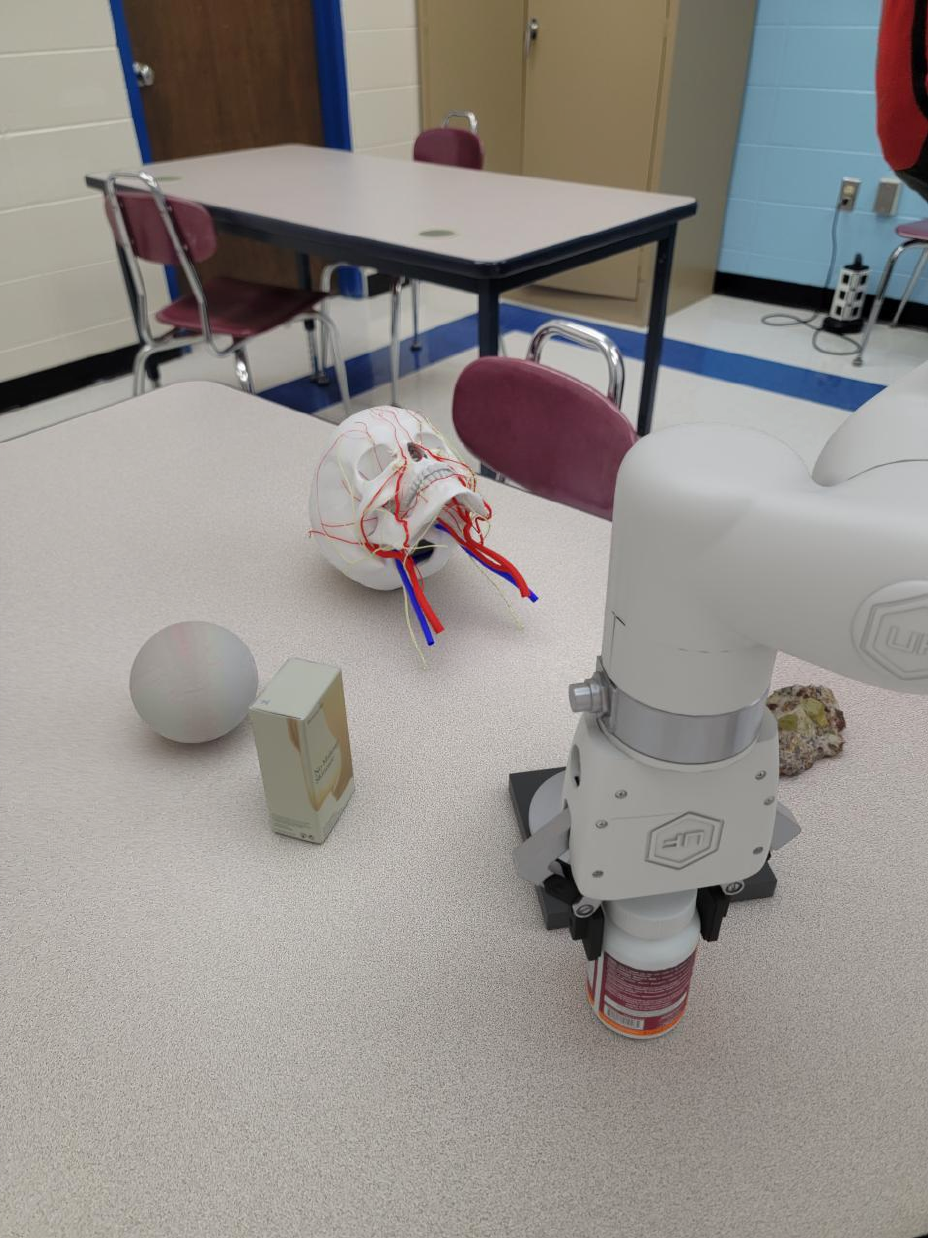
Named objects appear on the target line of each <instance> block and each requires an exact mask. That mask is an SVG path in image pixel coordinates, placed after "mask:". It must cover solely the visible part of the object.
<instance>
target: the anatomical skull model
mask: <svg viewBox="0 0 928 1238" xmlns="http://www.w3.org/2000/svg"><path fill="white" fill-rule="evenodd" d="M419 413H421V414H423V416H424V417H422V415H421V414H419ZM454 449H455V450H454ZM477 474H478V473H477V472H474V470H473V469H472V468H471V467H469V466H468V465H467V464H466V463H465V460H464V459H463V457H462V456H461V454H460V452H459V451H458V450H457V449H456V447H455V446H454V445H453V444H451V445H450V444H449V442H448V441H447V439H446V438H445V437H444V435H443V433H442V432H440V431H439V430H438V429H437V428H435V427H434V426H433V424H432V423H431V422H430V420H429V419H428V417H427V415H426V413H425V412H423V411H422V410H419V411H417V412H415V411H413V410H410V409H408V408H406V409H405V408H399V407H395V406H392V405H380V406H379V405H378V406H374V407H371V408H367V409H363V410H360V411H357V412H355V413H353V414H351V415H350V416H348V417H346V419H344V420H343V421H341V422H340V423H339V424H338V426H337V427H336V428H335V429H334V430H333V432H332V433H331V435H330V436H329V438H328V439H327V441H326V443H325V444H324V446H323V448H322V450H321V453H320V455H319V457H318V460H317V463H316V466H315V468H314V471H313V476H312V480H311V483H310V484H311V485H310V490H309V491H310V492H309V498H308V517H309V522H310V525H311V529H312V530H309V531H308V534H309V537H308V539H311V536H312V533H313V537H314V540H315V542H316V544H317V546H318V548H319V550H320V551H321V553H322V555H323V557H325V559H326V560H327V561H328V562H329V563H330V564H331V565H332V566H333V567H334V568H336V570H339V571H340V572H341V573H342V574H343V575H344V577H345V578H349V579H351V580H353V581H355V582H357V583H359V584H361V585H362V586H364V587H366V588H369V589H372V590H373V589H374V590H379V591H393V590H395V589H399V588H402V589H403V596H404V597H403V598H404V611H405V619H406V624H407V627H408V630H409V633H410V637H411V640H412V643H413V645H414V647H415V649H416V651H417V653H418V654H419V656H420V658H421V661H422V665H423V671H424V672H425V671H426V670H427V667H426V661H425V658H424V655H423V653H422V651H421V650H420V648H419V646H418V643H417V641H416V638H415V635H414V632H413V629H412V626H411V622H410V617H409V609H408V607H409V606H408V598H409V601H410V604H411V607H412V608H413V611H414V612H415V615H416V618H417V620H418V622H419V625H420V627H421V631H422V633H423V635H424V638H425V640H426V643H427V646H428V647H431V646H433V645H434V644H435V640H434V637H433V634H432V632H431V629H430V627H431V628H432V630H433V632H434V633H435V635H439V634H441V633H442V632H444V631H445V630H446V629H445V627H444V626H443V623H442V622H441V621H440V619H439V618H438V616H437V614H436V613H435V611H434V609H433V608H432V606H431V604H430V603H429V601H428V599H427V598H426V596H425V593H424V588H425V587H424V580H423V579H424V578H428V577H429V576H432V575H434V574H436V573H437V572H439V571H440V570H441V569H442V568H444V566H445V565H446V564H447V563H448V561H449V560H450V559H451V557H452V556H453V554H454V553H455V551H456V549H457V548H458V547H460V548H461V549H462V550H463V551H464V552H465V553H466V554H467V555H468V557H469V559H470V561H471V562H472V563H473V565H474V566H475V567H476V568H477V569H478V570H479V571H480V572H481V573H482V574H483V575H484V576H485V577H486V578H487V579H488V580H489V581H490V582H491V583H492V584H493V586H494V587H495V589H496V590H497V591H498V592H499V594H500V595H501V597H502V599H503V600H504V601H505V603H506V605H507V607H508V608H509V611H510V613H511V615H512V617H513V619H514V620H515V622H516V623H517V624H518V625H519V627H520V628H521V629H522V630H524V629H525V627H524V625H523V624H522V623H520V621H519V620H518V618H517V617H516V615H515V612H514V610H513V607H512V606H511V604H510V603H509V600H508V599H507V598H506V596H505V595H504V593H503V592H502V590H501V589H500V587H499V586H498V585H497V583H496V582H495V581H494V580H493V578H491V577H490V576H489V575H488V574H487V573H486V572H485V570H483V569H482V568H481V566H483V567H484V568H486V569H487V570H489V571H491V572H492V573H494V574H496V575H498V576H500V577H501V578H503V579H505V580H506V581H507V582H510V584H511V585H513V586H515V588H517V589H518V590H519V593H520V597H521V599H523V598H528V599H529V601H531V602H532V603H533V604H535V603H536V602H537V601H538V600H539V597H538V596H537V595H536V594H535V592H533V590H531V589H530V587H528V584H527V582H526V580H525V579H524V577H523V575H522V574H521V572H520V571H519V569H518V568H517V567H515V565H513V563H512V562H510V561H509V560H508V559H507V558H505V557H504V556H502V555H501V554H500V553H498V552H496V551H494V550H492V549H490V548H489V547H486V546H485V545H484V544H485V542H484V541H485V539H487V537H488V535H489V532H490V530H491V523H492V521H493V515H492V514H493V512H492V511H493V509H492V508H491V506H490V503H488V502H487V501H486V499H485V496H482V494H481V491H480V488H479V487H478V485H477V482H478V481H477V480H479V478H478V477H477ZM464 479H465V480H464ZM478 521H481V522H486V523H487V524H486V525H485V526H484V527H483V529H482V530H481V527H480V525H479V522H478ZM474 524H475V526H474ZM487 527H488V529H487V532H486V534H485V535H484V536H483V532H484V531H485V529H486V528H487ZM475 532H476V533H477V534H478V535H477V537H479V539H480V541H479V542H477V541H476V540H475V539H473V537H474V536H475ZM486 556H487V557H486ZM489 558H490V559H489ZM475 560H476V561H477V562H479V564H481V566H479V564H477V562H476V561H475ZM493 560H494V561H493ZM495 562H496V563H495ZM419 580H421V584H422V586H421V585H420V582H419ZM421 587H422V588H421ZM407 595H408V596H407ZM428 623H429V624H430V625H431V626H430V625H429V624H428Z"/></svg>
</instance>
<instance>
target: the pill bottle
mask: <svg viewBox="0 0 928 1238" xmlns="http://www.w3.org/2000/svg"><path fill="white" fill-rule="evenodd" d="M696 897H697V888H696V889H690V890H683V891H677V892H670V893H663V894H656V895H649V896H642V897H635V898H627V899H619V900H603V901H602V903H601V907H602V910H603V913H604V917H605V924H604V933H603V942H602V951H601V957H598V960H594V961H588V960H587V969H586V970H587V971H586V994H587V998H588V1002H589V1004H590V1007H591V1008H592V1009H591V1010H592V1011H593V1012H594V1014H595V1016H596V1017H597V1018H598V1019H599V1020H600V1021H601V1022H602V1024H603V1025H605V1027H607V1028H608V1029H610V1030H611V1031H613V1032H614V1033H616V1034H618V1035H621V1036H622V1037H623V1036H624V1037H627V1038H630V1039H637V1040H649V1039H656V1038H658V1037H661V1036H664V1035H665V1034H667V1033H669V1032H671V1031H672V1030H673V1029H674V1028H675V1027H676V1026H677V1025H678V1024H679V1023H680V1021H681V1020H682V1018H683V1016H684V1014H685V1011H686V1007H687V1003H688V1000H689V993H690V989H691V985H692V984H691V983H692V979H693V973H694V968H695V963H696V957H697V953H698V946H699V942H700V936H701V933H700V927H701V923H700V916H699V912H698V909H697V907H696Z"/></svg>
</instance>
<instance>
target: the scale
mask: <svg viewBox="0 0 928 1238" xmlns="http://www.w3.org/2000/svg"><path fill="white" fill-rule="evenodd" d="M566 767H567V765H566V766H559V767H558V766H557V767H549V768H543V769H542V768H541V769H536V770H535V769H533V770H528V771H520V772H510V773H509V774H508V792H509V795H510V799H511V802H512V806H513V810H514V813H515V817H516V821H517V825H518V829H519V833H520V836H521V839H522V843H523V842H524V841H526V840H527V839H528V838H529V837H531V836H532V835H531V832H530V827H529V809H530V804H531V801H532V798H533V796H534V794H535V793H536V791H537V790H538V789H539V787H540V786H541V785H542V784H543V783H544V782H545V781H547V780H548V779H549V778H551V777H552V776H554V775H556V774H557V773H560V772H562V771H565V770H566ZM743 882H744V888H743V890H742V891H740V892H739V893H737V894H734V895H731V899H730V903H736V902H742V901H748V900H757V899H762V898H769V897H774V894H775V891H776V888H777V884H778V879H777V877H776V875H775V873H774V871H773V869H772V868H771V865H770V864H769V861H767V862H766V863H764V865H763V866H762V868H761V869H760V870H759V871H758V872H757V873H756V874H754V875H752V876H750V877H748V878H746V879H743ZM534 888H535V891H536V896H537V899H538V902H539V906H540V910H541V913H542V917H543V920H544V921H543V922H544V924H545V928H546V930H547V931H549V930H554V929H561V928H567V927H568V928H569V926H568V920H567V911H568V904H566V903H564V902H562V901H560V900H558V899H556V898H554V897H552V896H550V895H548V894H547V893H546V891H545V888H544V887H542V886H540V885H539V886H537V885H535V884H534Z"/></svg>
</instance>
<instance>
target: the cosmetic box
mask: <svg viewBox="0 0 928 1238" xmlns="http://www.w3.org/2000/svg"><path fill="white" fill-rule="evenodd" d="M248 714H249V718H250V722H251V728H252V732H253V739H254V743H255V748H256V754H257V759H258V764H259V769H260V775H261V779H262V785H263V790H264V796H265V802H266V806H267V813H268V817H269V821H270V827H271V831H272V832H274V833H278V834H282V835H285V836H289V837H292V838H294V839H299V840H303V841H307V842H311V843H316V844H322V843H324V841H325V840H326V838H327V837H328V835H329V834H330V832H331V831H332V829H333V827H334V826H335V824H336V822H337V821H338V819H339V818H340V816H341V814H342V813H343V811H344V810H345V808H346V805H348V803H349V801H350V798H351V797H352V795H353V793H354V791H355V789H356V785H355V784H356V783H355V776H354V769H353V759H352V751H351V750H352V749H351V742H350V733H349V725H348V717H347V707H346V698H345V690H344V682H343V672H342V668H341V667H339V666H334V665H330V664H325V663H323V662H318V661H314V660H313V661H312V660H309V659H303V658H300V657H295V656H290V657H288V659H287V660H286V661H285V662H284V663H283V664H282V666H281V667H280V668H279V669H278V671H277V672H276V673H275V674H274V675H273V676H272V678H270V680H269V681H268V682H267V683H266V685H265V686H264V687H263V689H262V690H261V692H260V693H259V694H257V696H256V697H255V699H254V701H253V703H252V704H251V705H250V706H249V712H248Z"/></svg>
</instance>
